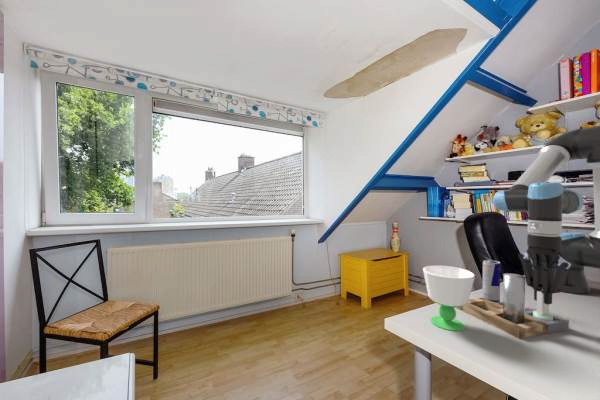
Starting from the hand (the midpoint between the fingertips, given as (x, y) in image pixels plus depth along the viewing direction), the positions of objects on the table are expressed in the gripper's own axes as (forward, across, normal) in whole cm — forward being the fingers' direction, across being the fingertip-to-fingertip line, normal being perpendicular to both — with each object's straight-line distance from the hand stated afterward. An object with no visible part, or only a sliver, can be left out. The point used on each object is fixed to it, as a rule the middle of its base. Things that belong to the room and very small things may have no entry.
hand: (542, 313), depth 79 cm
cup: (+4, -8, -27) cm, 28 cm away
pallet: (+4, -6, -9) cm, 12 cm away
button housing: (+4, 0, 0) cm, 4 cm away
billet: (+4, -2, -9) cm, 10 cm away
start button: (+3, 0, 0) cm, 3 cm away
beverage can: (+4, -17, +1) cm, 17 cm away
